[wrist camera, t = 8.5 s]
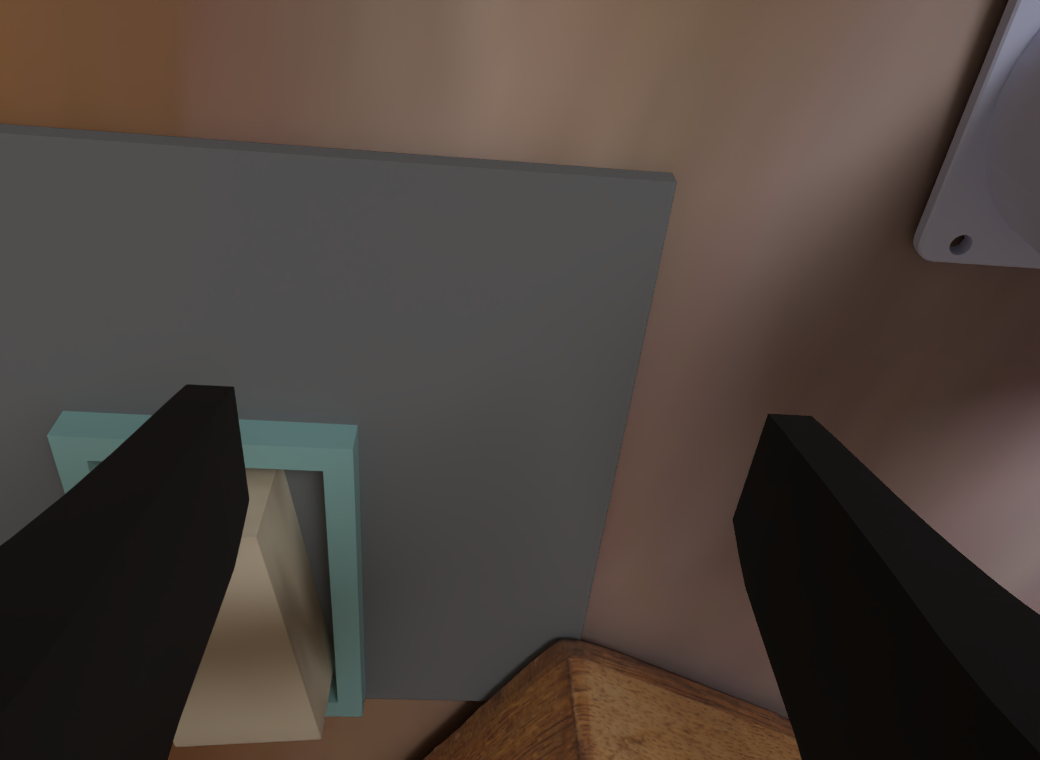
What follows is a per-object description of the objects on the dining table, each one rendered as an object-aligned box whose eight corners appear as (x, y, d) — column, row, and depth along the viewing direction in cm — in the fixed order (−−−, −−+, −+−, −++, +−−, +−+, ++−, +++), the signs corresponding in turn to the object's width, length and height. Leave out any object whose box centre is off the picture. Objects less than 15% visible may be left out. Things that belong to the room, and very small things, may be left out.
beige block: (335, 656, 29) (321, 739, 26) (201, 663, 29) (175, 747, 26) (280, 455, 23) (256, 537, 21) (116, 464, 23) (73, 546, 21)
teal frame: (357, 425, 23) (353, 449, 22) (365, 691, 30) (362, 717, 29) (63, 411, 22) (46, 435, 21) (142, 685, 29) (133, 711, 28)
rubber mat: (672, 173, 19) (676, 181, 19) (566, 690, 31) (567, 703, 31) (-166, 111, 18) (-182, 119, 17) (55, 678, 30) (49, 691, 29)
